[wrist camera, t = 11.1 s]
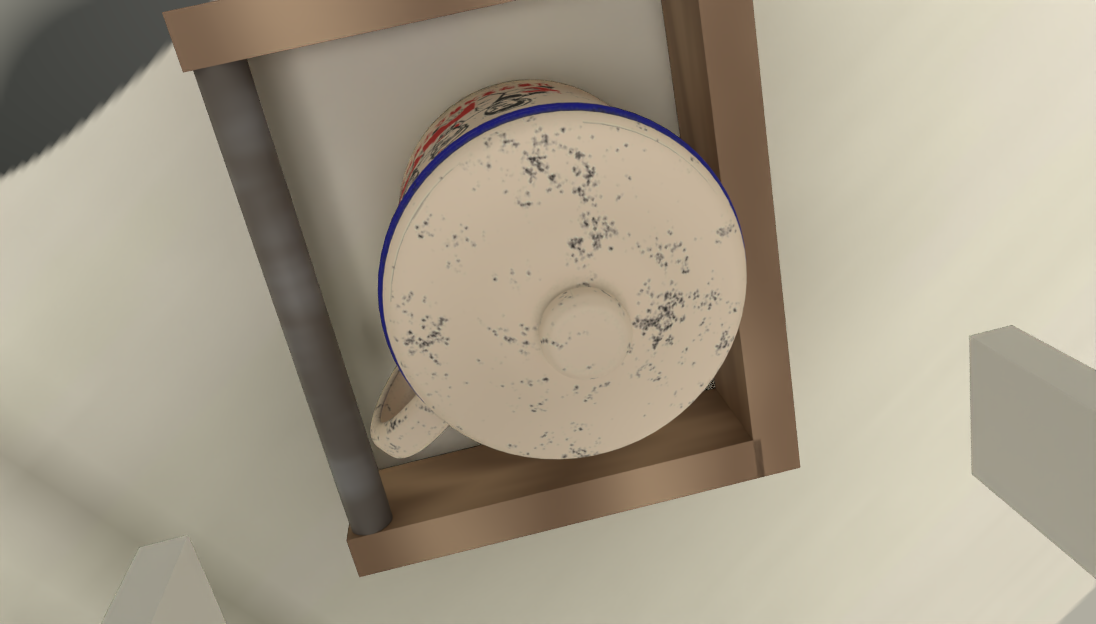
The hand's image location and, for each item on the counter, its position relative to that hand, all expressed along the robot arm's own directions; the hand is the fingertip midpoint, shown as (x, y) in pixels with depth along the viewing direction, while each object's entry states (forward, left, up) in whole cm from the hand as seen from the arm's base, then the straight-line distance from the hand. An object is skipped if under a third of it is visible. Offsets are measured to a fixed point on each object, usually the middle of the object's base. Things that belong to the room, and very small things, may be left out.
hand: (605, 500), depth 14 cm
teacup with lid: (-1, 0, -16) cm, 16 cm away
